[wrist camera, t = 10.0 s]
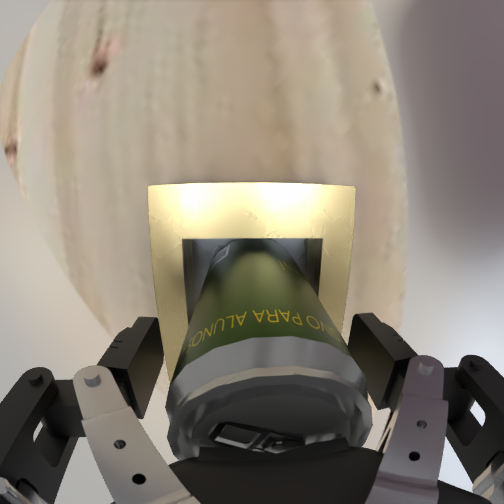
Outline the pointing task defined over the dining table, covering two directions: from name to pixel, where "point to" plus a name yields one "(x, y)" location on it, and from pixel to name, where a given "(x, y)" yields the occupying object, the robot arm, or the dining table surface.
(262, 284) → the beer can
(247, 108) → the dining table surface
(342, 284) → the socket block
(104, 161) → the dining table surface
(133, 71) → the dining table surface
